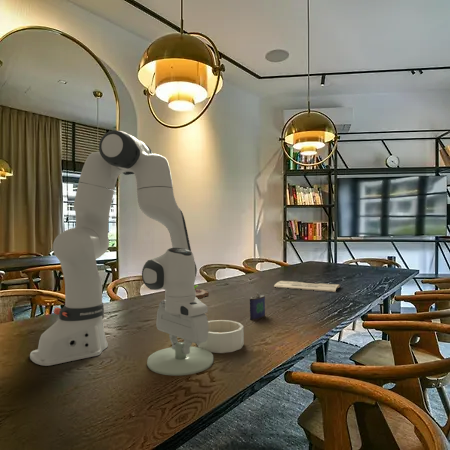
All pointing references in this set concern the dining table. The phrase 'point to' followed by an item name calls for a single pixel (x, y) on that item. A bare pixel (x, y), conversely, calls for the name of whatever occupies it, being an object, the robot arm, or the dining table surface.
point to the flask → (257, 307)
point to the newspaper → (307, 286)
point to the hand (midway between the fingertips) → (180, 351)
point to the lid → (180, 360)
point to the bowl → (223, 336)
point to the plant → (200, 293)
